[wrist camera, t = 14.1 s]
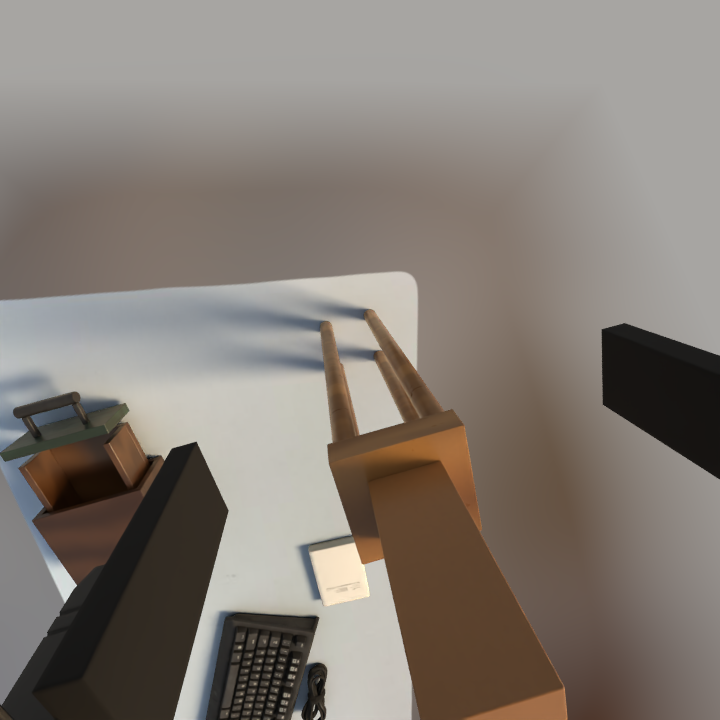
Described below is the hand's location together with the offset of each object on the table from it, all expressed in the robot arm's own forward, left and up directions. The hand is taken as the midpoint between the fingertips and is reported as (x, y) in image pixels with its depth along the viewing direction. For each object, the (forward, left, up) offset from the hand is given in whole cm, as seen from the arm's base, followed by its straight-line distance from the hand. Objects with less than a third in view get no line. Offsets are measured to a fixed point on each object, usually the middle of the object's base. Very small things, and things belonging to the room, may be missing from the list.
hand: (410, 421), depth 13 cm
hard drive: (+48, -12, -40) cm, 64 cm away
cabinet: (+26, -37, -40) cm, 60 cm away
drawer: (+14, -37, -39) cm, 56 cm away
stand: (+10, 0, -40) cm, 41 cm away
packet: (+10, 0, -8) cm, 13 cm away
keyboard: (+71, -31, -40) cm, 87 cm away
